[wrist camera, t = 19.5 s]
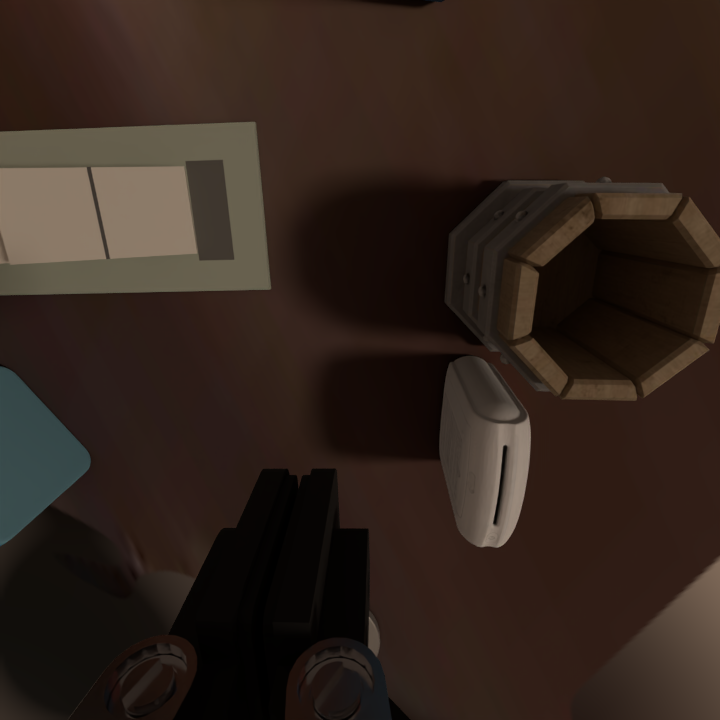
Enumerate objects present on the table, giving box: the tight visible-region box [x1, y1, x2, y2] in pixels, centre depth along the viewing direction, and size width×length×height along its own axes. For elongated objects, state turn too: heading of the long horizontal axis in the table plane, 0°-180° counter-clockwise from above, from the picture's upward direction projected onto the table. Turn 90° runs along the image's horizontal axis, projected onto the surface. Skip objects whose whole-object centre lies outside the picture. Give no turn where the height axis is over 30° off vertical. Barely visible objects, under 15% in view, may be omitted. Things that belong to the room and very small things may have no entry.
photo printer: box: [439, 356, 531, 548], centre depth 33 cm, size 10×4×12 cm, turn 179°
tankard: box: [444, 177, 720, 401], centre depth 27 cm, size 20×13×15 cm, turn 90°
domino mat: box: [0, 122, 271, 295], centre depth 34 cm, size 12×32×1 cm, turn 92°
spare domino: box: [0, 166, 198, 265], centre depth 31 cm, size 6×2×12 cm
